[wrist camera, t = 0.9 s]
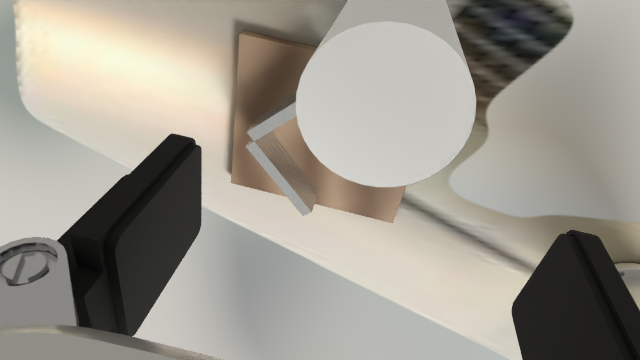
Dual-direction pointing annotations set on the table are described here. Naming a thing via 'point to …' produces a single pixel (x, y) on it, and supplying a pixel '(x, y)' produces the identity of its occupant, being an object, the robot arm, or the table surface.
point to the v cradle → (289, 136)
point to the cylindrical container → (387, 93)
